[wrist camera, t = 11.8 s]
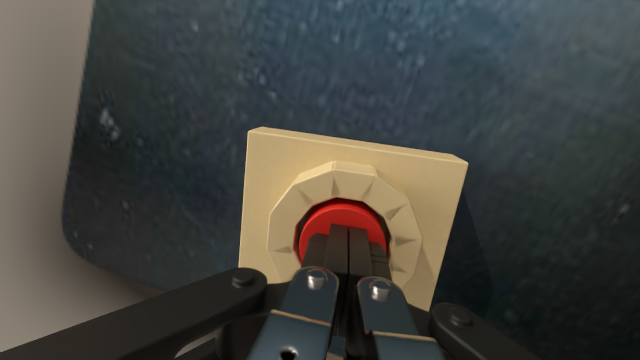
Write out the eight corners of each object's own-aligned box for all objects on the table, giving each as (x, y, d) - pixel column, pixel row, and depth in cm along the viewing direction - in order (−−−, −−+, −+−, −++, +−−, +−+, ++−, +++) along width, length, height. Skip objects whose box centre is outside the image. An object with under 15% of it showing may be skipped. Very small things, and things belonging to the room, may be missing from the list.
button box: (250, 260, 18) (223, 304, 14) (261, 126, 16) (233, 134, 12) (418, 289, 17) (438, 343, 14) (452, 154, 15) (488, 172, 11)
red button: (300, 258, 15) (294, 279, 13) (309, 189, 14) (304, 201, 12) (374, 271, 14) (377, 293, 13) (388, 201, 14) (394, 215, 12)
